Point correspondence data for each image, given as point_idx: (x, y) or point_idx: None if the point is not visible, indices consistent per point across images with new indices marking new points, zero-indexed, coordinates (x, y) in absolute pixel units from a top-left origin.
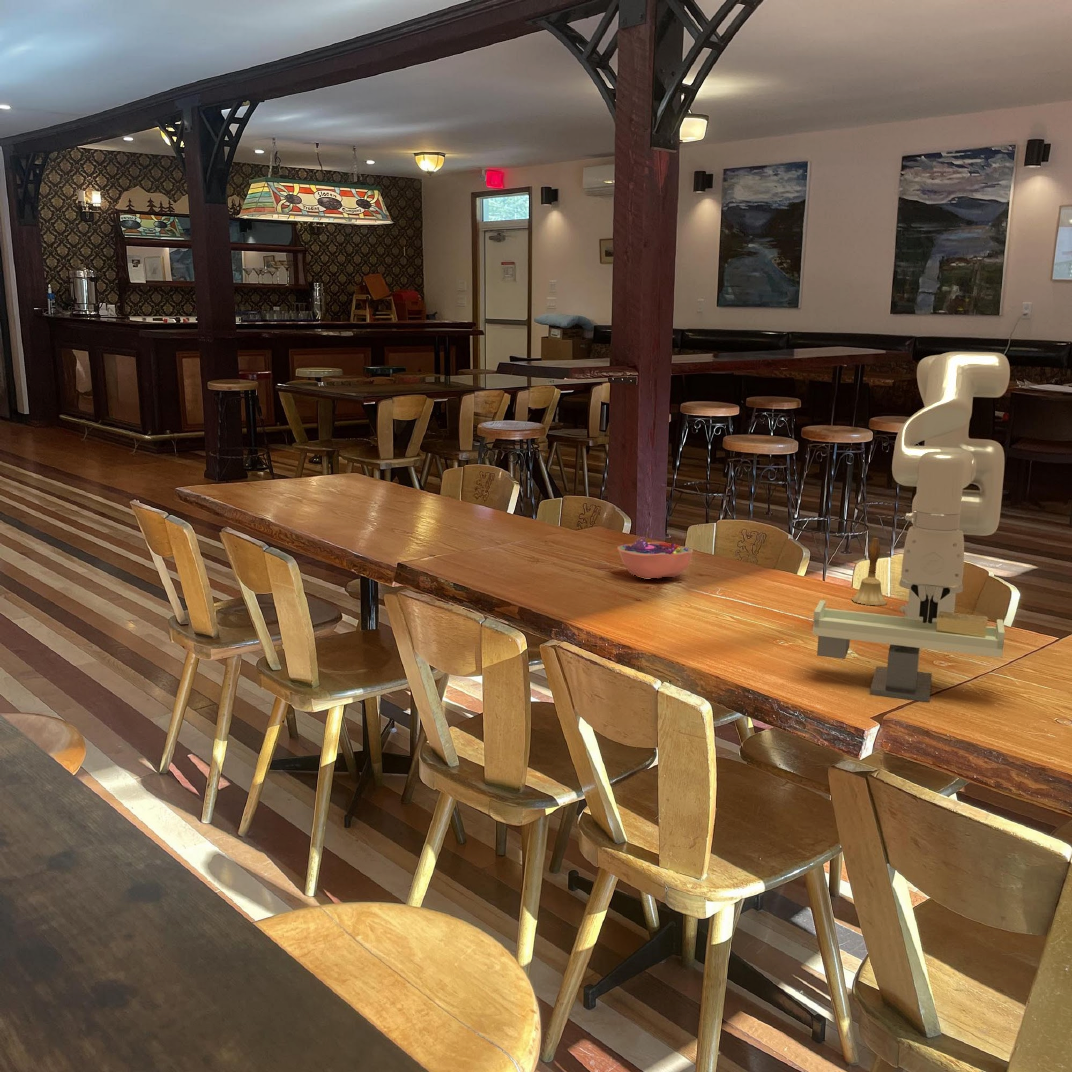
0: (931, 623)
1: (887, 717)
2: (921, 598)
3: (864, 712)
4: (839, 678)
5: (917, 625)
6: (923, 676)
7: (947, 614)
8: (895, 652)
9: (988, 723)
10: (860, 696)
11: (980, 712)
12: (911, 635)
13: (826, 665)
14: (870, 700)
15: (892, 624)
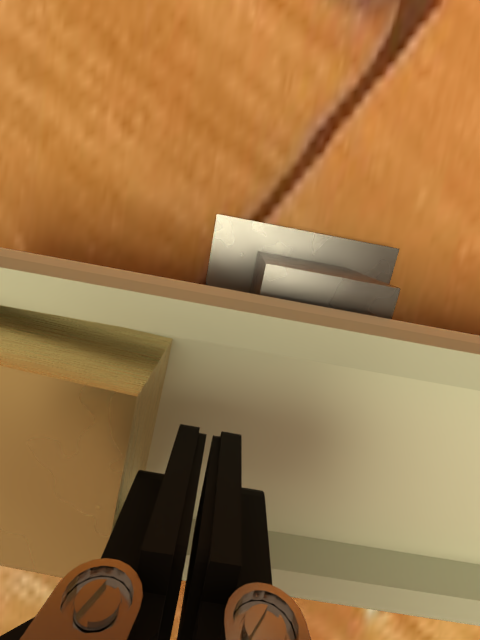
0: (183, 424)
1: (380, 19)
2: (273, 618)
3: (449, 53)
4: None
5: None
6: None
7: (49, 505)
8: (368, 282)
9: (55, 47)
10: (426, 220)
11: (71, 156)
12: (315, 317)
13: None
14: (402, 188)
15: (360, 546)
